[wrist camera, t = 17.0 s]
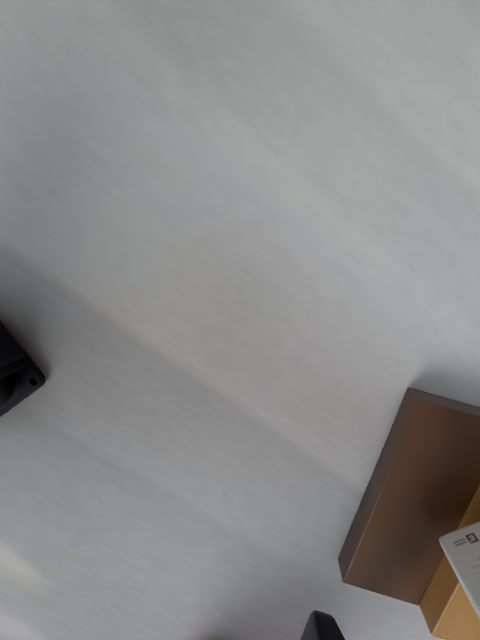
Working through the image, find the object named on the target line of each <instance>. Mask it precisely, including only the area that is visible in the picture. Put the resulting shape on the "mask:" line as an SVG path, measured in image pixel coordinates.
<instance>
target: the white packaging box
mask: <svg viewBox="0 0 480 640" xmlns="http://www.w3.org/2000/svg"><path fill="white" fill-rule="evenodd" d="M439 542H440V544H441V547H442V549H443V550H444V552H445V554H446V556H447V558H448V560H449V562H450V564H451V566H452V568H453V570H454V572H455V574H456V576H457V578H458V580H459V582H460V584H461V585H462V587H463V589H464V591H465V593H466V595H467V597H468V599H469V601H470V602H471V604H472V606H473V608H474V610H475V612H476V613H477V615H478V617H479V619H480V522H477V523H475V524H472V525H469V526H466V527H464V528H461V529H458V530H456V531H453V532H450V533H448V534H445V535H443V536H441V537H440V538H439Z"/></svg>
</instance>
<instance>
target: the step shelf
mask: <svg viewBox="0 0 480 640" xmlns="http://www.w3.org/2000/svg"><path fill="white" fill-rule="evenodd" d="M477 522H480V408H479V407H476V406H472V405H469V404H465V403H461V402H458V401H454V400H451V399H447V398H444V397H440V396H436V395H433V394H429V393H426V392H422V391H418V390H415V389H411V388H408V389H407V392H406V394H405V397H404V399H403V402H402V404H401V406H400V409H399V411H398V414H397V416H396V419H395V421H394V424H393V426H392V428H391V431H390V433H389V436H388V438H387V441H386V443H385V446H384V448H383V450H382V453H381V455H380V458H379V460H378V463H377V465H376V468H375V470H374V472H373V475H372V477H371V480H370V482H369V485H368V487H367V490H366V492H365V494H364V497H363V499H362V502H361V504H360V507H359V509H358V512H357V514H356V516H355V519H354V521H353V524H352V526H351V529H350V531H349V534H348V536H347V538H346V541H345V543H344V546H343V548H342V551H341V553H340V556H339V558H338V561H339V566H340V571H341V576H342V581H343V582H344V583H347V584H350V585H353V586H357V587H360V588H363V589H366V590H370V591H373V592H376V593H379V594H383V595H386V596H389V597H392V598H396V599H399V600H402V601H405V602H409V603H412V604H415V605H419V606H420V608H421V610H422V613H423V615H424V618H425V620H426V623H427V625H428V628H429V630H430V633H431V634H432V635H433V636H436V637H439V638H442V639H446V640H480V619H479V617H478V615H477V613H476V612H475V610H474V608H473V606H472V604H471V602H470V601H469V599H468V597H467V595H466V593H465V591H464V589H463V587H462V585H461V584H460V582H459V580H458V578H457V576H456V574H455V572H454V570H453V568H452V566H451V564H450V562H449V560H448V558H447V556H446V554H445V552H444V550H443V549H442V547H441V544H440V542H439V538H440V537H441V536H443V535H445V534H448V533H450V532H453V531H456V530H458V529H461V528H464V527H466V526H469V525H472V524H475V523H477Z"/></svg>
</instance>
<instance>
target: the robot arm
mask: <svg viewBox="0 0 480 640" xmlns="http://www.w3.org/2000/svg"><path fill="white" fill-rule="evenodd" d="M34 378H35V379H36V380H37V382H36V381H35V380H34ZM45 381H46V380H45V376H44V374H43V373H42V372H41V371H40V370H39V368H38V367H37V366H36V365H35V363H34V362H33V361H32V360H31V359H30V357H29V356H28V355H27V354H26V352H25V351H24V350H23V349H22V347H21V346H20V345H19V344H18V343H17V341H16V340H15V339H14V338H13V336H12V335H11V334H10V333H9V332H8V330H7V329H6V328H5V327H4V325H3V324H2V323H1V322H0V417H1V416H2V415H4V414H5V413H6V412H8V411H9V410H10V409H12V408H13V407H14V406H16V405H17V404H18V403H20V402H21V401H23V400H24V399H25V398H27V397H28V396H29V395H31V394H32V393H33V392H35V391H36V390H37V389H39V388H40V387H41V386H43V385H44V384H45ZM301 640H345V639H344V637H343V635H342V633H341V631H340V629H339V627H338V625H337V623H336V621H335V619H334V618H333V617H332V616H331V615H329V614H327V613H324V612H320V611H317V610H314V611H312V613H311V614H310V617H309V619H308V622H307V624H306V627H305V629H304V631H303V634H302V637H301Z"/></svg>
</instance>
